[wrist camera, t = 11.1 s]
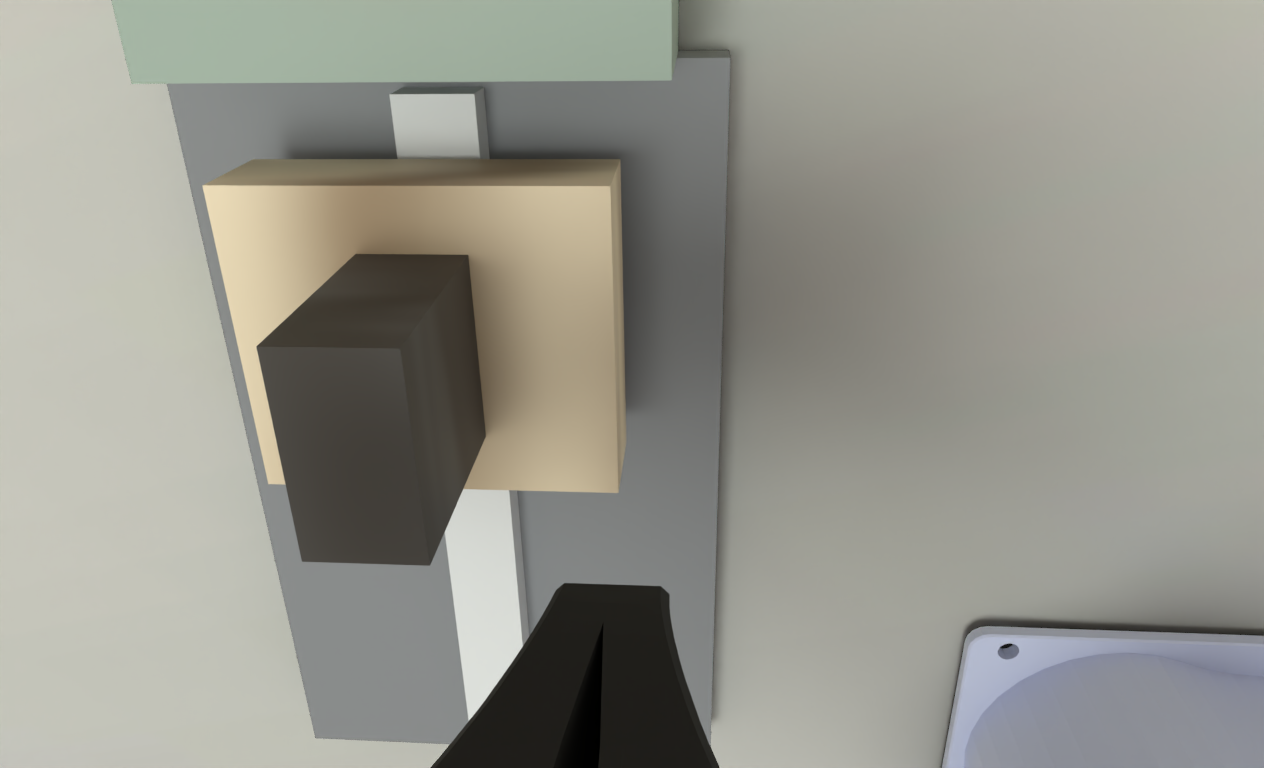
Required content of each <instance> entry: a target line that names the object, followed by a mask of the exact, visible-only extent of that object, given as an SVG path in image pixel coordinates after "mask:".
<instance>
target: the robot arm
mask: <svg viewBox="0 0 1264 768" xmlns="http://www.w3.org/2000/svg"><path fill="white" fill-rule="evenodd" d="M1009 643H1011V644H1013V645H1012V646H1010V647H1009V648H1004V649H1001V648H1000V647H1001V646H1003V645H1004V644H1009ZM431 768H719V765H718V763H717V761H716V758H715V756H714V754H713V752H712V749H711V747H710V745H709V742H708V740H707V737H706V735H705V732H704V730H703V727H702V725H701V722H700V720H699V717H698V714H697V711H696V708H695V705H694V702H693V700H692V697H691V694H690V691H689V688H688V685H687V682H686V679H685V676H684V673H683V670H682V666H681V663H680V659H679V655H678V651H677V647H676V643H675V639H674V634H673V629H672V623H671V617H670V594H669V593H668V592H667V591H666V590H665V589H663V588H662V587H661V586H643V585H613V584H582V583H564V584H563V585H561V586H560V587H559V588H558V589H557V590H556V591H555V593H554V595H553V597H552V598H551V600H550V602H549V604H548V606H547V608H546V609H545V611H544V613H543V615H542V616H541V618H540V620H539V621H538V623H537V625H536V626H535V628H534V630H533V631H532V633H531V634H530V636H529V637H528V639H527V641H526V642H525V644H524V645H523V647H522V648H521V650H520V651H519V653H518V654H517V656H516V657H515V659H514V660H513V662H512V663H511V665H510V666H509V667H508V669H507V670H506V672H505V673H504V674H503V676H502V677H501V679H500V680H499V682H498V683H497V684H496V686H495V687H494V689H493V690H492V691H491V693H490V694H489V696H488V697H487V698H486V700H485V701H484V702H483V704H482V705H481V706H480V708H479V709H478V710H477V712H476V713H475V714H474V715H473V717H472V718H471V719H470V720H469V722H468V723H467V724H466V725H465V726H464V728H463V729H462V730H461V731H460V733H459V734H458V735H457V736H456V738H455V739H454V740H453V741H452V743H451V744H450V745H449V746H448V748H447V749H446V750H445V751H444V753H443V754H442V755H441V756H440V757H439V759H438V760H437V761H436V762H435V763H434V764H433V765H432V767H431ZM942 768H1264V636H1255V635H1226V634H1197V633H1169V632H1140V631H1111V630H1082V629H1054V628H1025V627H996V626H985V627H979V628H977V629H974V630H972V631H971V632H970V633H969V634H968V635H967V637H966V639H965V643H964V649H963V654H962V660H961V665H960V671H959V676H958V681H957V687H956V692H955V698H954V703H953V709H952V714H951V720H950V725H949V731H948V736H947V742H946V747H945V753H944V758H943V764H942Z"/></svg>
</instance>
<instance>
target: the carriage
mask: <svg viewBox="0 0 1264 768" xmlns="http://www.w3.org/2000/svg"><path fill="white" fill-rule="evenodd" d="M202 186H203V191H204V195H205V200H206V204H207V209H208V214H209V218H210V223H211V227H212V232H213V236H214V241H215V245H216V250H217V254H218V259H219V263H220V268H221V272H222V277H223V281H224V286H225V290H226V295H227V299H228V304H229V308H230V313H231V317H232V322H233V326H234V331H235V336H236V340H237V345H238V349H239V354H240V358H241V363H242V367H243V372H244V376H245V381H246V385H247V390H248V394H249V399H250V403H251V408H252V412H253V417H254V421H255V426H256V430H257V435H258V439H259V444H260V448H261V453H262V457H263V462H264V467H265V471H266V476H267V480H268V484H283V485H286V489H287V494H288V499H289V503H290V508H291V513H292V517H293V522H294V527H295V532H296V536H297V541H298V546H299V550H300V555H301V560H302V562H327V563H359V564H390V565H422V566H430V565H431V563H432V560H433V558H434V556H435V553H436V551H437V549H438V546H439V544H440V542H441V539H442V537H443V535H444V532H445V530H446V528H447V526H448V523H449V521H450V519H451V516H452V514H453V512H454V509H455V507H456V505H457V502H458V500H459V498H460V495H461V493H462V491H463V489H479V490H518V491H557V492H596V493H619V487H620V480H621V474H622V467H623V461H624V454H625V448H626V399H625V353H624V306H623V260H622V214H621V167H620V159H253V160H251V161H249V162H247V163H245V164H243V165H241V166H239V167H237V168H235V169H233V170H231V171H229V172H227V173H226V174H224V175H222V176H220V177H218V178H216V179H214V180H212V181H210V182H208V183H206V184H204V185H202Z"/></svg>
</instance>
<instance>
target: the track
mask: <svg viewBox="0 0 1264 768" xmlns="http://www.w3.org/2000/svg"><path fill="white" fill-rule="evenodd" d="M167 87H168V91H169V95H170V100H171V104H172V109H173V113H174V117H175V122H176V126H177V131H178V135H179V139H180V144H181V148H182V153H183V157H184V161H185V166H186V170H187V175H188V179H189V183H190V188H191V192H192V197H193V201H194V205H195V210H196V214H197V219H198V223H199V227H200V232H201V236H202V241H203V245H204V249H205V254H206V258H207V263H208V267H209V271H210V276H211V280H212V285H213V289H214V293H215V298H216V302H217V307H218V311H219V315H220V320H221V324H222V329H223V333H224V337H225V342H226V346H227V351H228V355H229V359H230V364H231V368H232V373H233V377H234V381H235V386H236V390H237V395H238V399H239V404H240V408H241V412H242V417H243V421H244V426H245V430H246V434H247V439H248V443H249V448H250V452H251V456H252V461H253V465H254V470H255V474H256V478H257V483H258V487H259V492H260V496H261V500H262V505H263V509H264V514H265V518H266V522H267V527H268V531H269V536H270V540H271V544H272V549H273V553H274V558H275V562H276V566H277V571H278V575H279V580H280V584H281V588H282V593H283V597H284V602H285V606H286V610H287V615H288V619H289V624H290V628H291V632H292V637H293V641H294V646H295V650H296V654H297V659H298V663H299V668H300V672H301V676H302V681H303V685H304V690H305V694H306V698H307V703H308V707H309V712H310V716H311V720H312V725H313V729H314V734H315V738H323V739H345V740H367V741H389V742H411V743H433V744H451V743H452V741H453V740H454V739H455V738H456V736H457V735H458V734H459V733H460V731H461V730H462V729H463V728H464V726H465V725H466V724H467V723H468V722H469V720H470V719H471V718H472V717H473V715H474V714H475V713H476V712H477V710H478V709H479V708H480V706H481V705H482V704H483V702H484V701H485V700H486V698H487V697H488V696H489V694H490V693H491V691H492V690H493V689H494V687H495V686H496V684H497V683H498V682H499V680H500V679H501V677H502V676H503V674H504V673H505V672H506V670H507V669H508V667H509V666H510V665H511V663H512V662H513V660H514V659H515V657H516V656H517V654H518V653H519V651H520V650H521V648H522V647H523V645H524V644H525V642H526V641H527V639H528V637H529V636H530V634H531V633H532V631H533V630H534V628H535V626H536V625H537V623H538V621H539V620H540V618H541V616H542V615H543V613H544V611H545V609H546V608H547V606H548V604H549V602H550V600H551V598H552V597H553V595H554V593H555V591H556V590H557V589H558V588H559V587H560V586H561V585H563V584H564V583H582V584H613V585H643V586H661V587H662V588H663V589H665V590H666V591H667V592H668V593H669V594H670V617H671V623H672V629H673V634H674V639H675V643H676V647H677V651H678V655H679V659H680V663H681V666H682V670H683V673H684V676H685V679H686V682H687V685H688V688H689V691H690V694H691V697H692V700H693V702H694V705H695V708H696V711H697V714H698V717H699V720H700V722H701V725H702V727H703V730H704V732H705V735H706V737H707V740H708V742H709V745H710V747H711V712H712V678H713V643H714V609H715V574H716V540H717V505H718V471H719V436H720V402H721V367H722V333H723V298H724V264H725V229H726V195H727V160H728V126H729V91H730V53H729V50H682V51H678V54H677V59H676V63H675V68H674V72H673V77H672V80H668V81H506V82H344V83H182V84H167ZM253 159H620V167H621V214H622V260H623V306H624V353H625V399H626V448H625V454H624V461H623V467H622V474H621V480H620V487H619V493H596V492H557V491H518V490H479V489H463V491H462V493H461V495H460V498H459V500H458V502H457V505H456V507H455V509H454V512H453V514H452V516H451V519H450V521H449V523H448V526H447V528H446V530H445V532H444V535H443V537H442V539H441V542H440V544H439V546H438V549H437V551H436V553H435V556H434V558H433V560H432V563H431V565H430V566H422V565H390V564H359V563H327V562H302V560H301V555H300V550H299V546H298V541H297V536H296V532H295V527H294V522H293V517H292V513H291V508H290V503H289V499H288V494H287V489H286V485H283V484H268V480H267V476H266V471H265V467H264V462H263V457H262V453H261V448H260V444H259V439H258V435H257V430H256V426H255V421H254V417H253V412H252V408H251V403H250V399H249V394H248V390H247V385H246V381H245V376H244V372H243V367H242V363H241V358H240V354H239V349H238V345H237V340H236V336H235V331H234V326H233V322H232V317H231V313H230V308H229V304H228V299H227V295H226V290H225V286H224V281H223V277H222V272H221V268H220V263H219V259H218V254H217V250H216V245H215V241H214V236H213V232H212V227H211V223H210V218H209V214H208V209H207V204H206V200H205V195H204V191H203V186H202V185H204V184H206V183H208V182H210V181H212V180H214V179H216V178H218V177H220V176H222V175H224V174H226V173H227V172H229V171H231V170H233V169H235V168H237V167H239V166H241V165H243V164H245V163H247V162H249V161H251V160H253Z"/></svg>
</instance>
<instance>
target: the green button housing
mask: <svg viewBox="0 0 1264 768" xmlns="http://www.w3.org/2000/svg"><path fill="white" fill-rule="evenodd" d="M111 1H112V5H113V9H114V13H115V17H116V21H117V25H118V30H119V34H120V38H121V42H122V46H123V50H124V54H125V58H126V62H127V67H128V71H129V75H130V79H131V83H132V84H182V83H344V82H506V81H668V80H672V77H673V72H674V68H675V63H676V59H677V54H678V31H679V0H111Z"/></svg>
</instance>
